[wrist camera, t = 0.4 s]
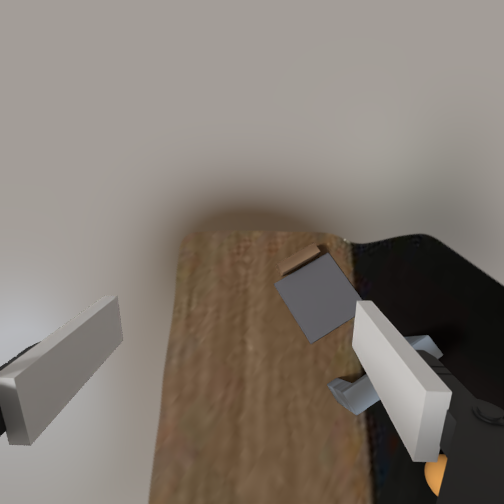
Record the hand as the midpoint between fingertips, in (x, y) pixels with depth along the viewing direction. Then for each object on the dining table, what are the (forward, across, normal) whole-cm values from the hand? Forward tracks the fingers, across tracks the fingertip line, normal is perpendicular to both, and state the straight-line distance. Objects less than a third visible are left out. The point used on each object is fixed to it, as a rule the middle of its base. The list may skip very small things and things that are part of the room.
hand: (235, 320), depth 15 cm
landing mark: (+33, -12, +13) cm, 37 cm away
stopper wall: (+37, -8, +7) cm, 38 cm away
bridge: (+27, -19, +23) cm, 40 cm away
